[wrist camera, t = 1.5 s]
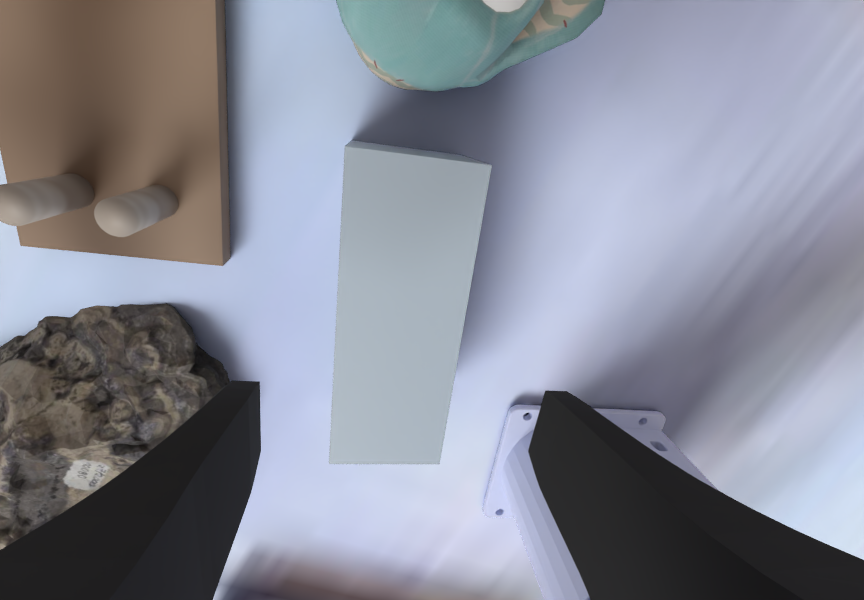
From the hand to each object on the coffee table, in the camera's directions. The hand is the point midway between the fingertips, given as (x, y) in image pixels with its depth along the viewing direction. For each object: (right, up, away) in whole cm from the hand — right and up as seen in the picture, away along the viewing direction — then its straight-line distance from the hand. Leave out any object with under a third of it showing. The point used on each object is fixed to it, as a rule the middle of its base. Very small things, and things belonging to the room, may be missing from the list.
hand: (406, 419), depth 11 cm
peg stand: (-10, +11, +4) cm, 16 cm away
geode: (-17, -4, +10) cm, 20 cm away
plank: (-1, +4, +9) cm, 10 cm away
